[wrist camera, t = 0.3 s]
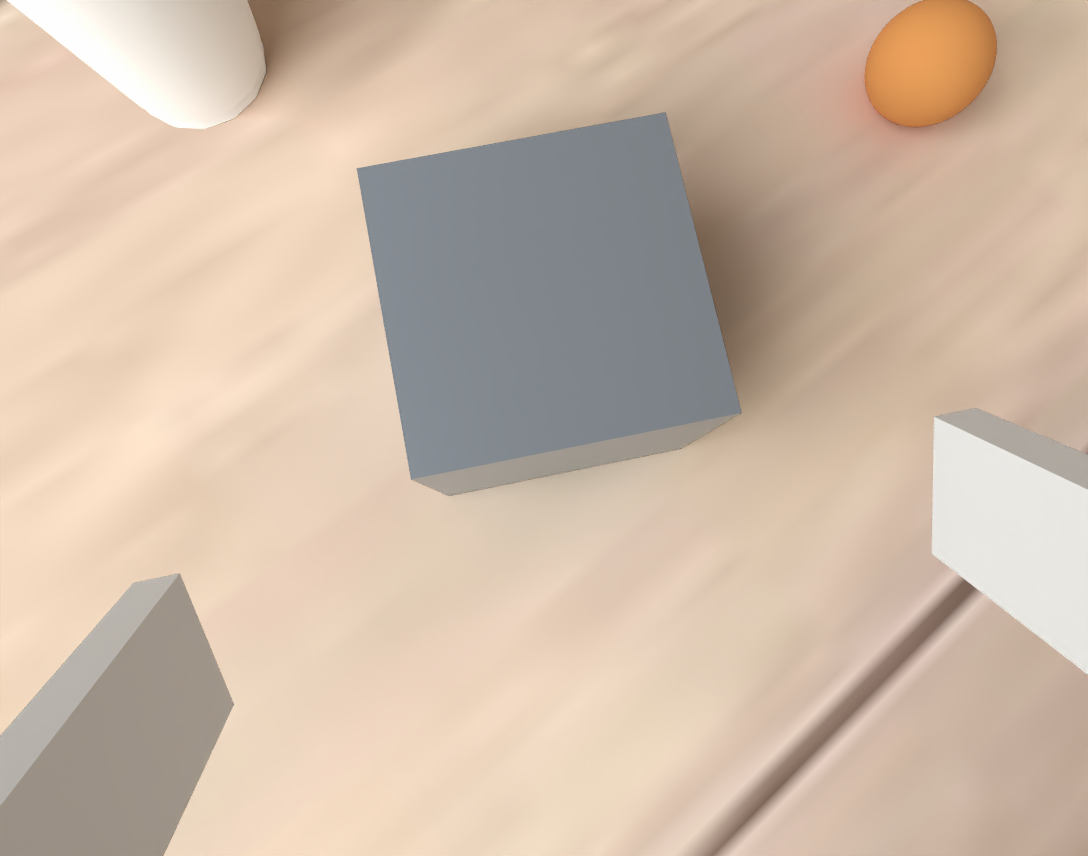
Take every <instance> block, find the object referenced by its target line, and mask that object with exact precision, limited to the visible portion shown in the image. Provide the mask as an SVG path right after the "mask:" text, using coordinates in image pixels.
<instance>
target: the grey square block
mask: <svg viewBox="0 0 1088 856" xmlns="http://www.w3.org/2000/svg"><path fill="white" fill-rule="evenodd" d="M357 172H358V178H359V183H360V189H361V195H362V201H363V206H364V212H365V218H366V223H367V229H368V235H369V241H370V246H371V252H372V258H373V264H374V269H375V275H376V281H377V286H378V292H379V298H380V304H381V309H382V315H383V321H384V327H385V332H386V338H387V344H388V349H389V355H390V361H391V367H392V372H393V378H394V384H395V390H396V395H397V401H398V407H399V412H400V418H401V424H402V430H403V435H404V441H405V447H406V453H407V458H408V464H409V470H410V476H411V480H413V481H416V482H418V483H420V484H422V485H425V486H427V487H429V488H432V489H434V490H436V491H438V492H441V493H443V494H445V495H447V496H451V495H456V494H461V493H466V492H471V491H476V490H481V489H486V488H490V487H495V486H500V485H505V484H510V483H515V482H520V481H525V480H530V479H535V478H540V477H545V476H550V475H554V474H559V473H564V472H569V471H574V470H579V469H584V468H589V467H594V466H599V465H604V464H609V463H614V462H618V461H623V460H628V459H633V458H638V457H643V456H648V455H653V454H658V453H663V452H668V451H673V450H678V449H681V448H683V447H685V446H686V445H688V444H690V443H692V442H693V441H695V440H697V439H698V438H700V437H702V436H703V435H705V434H707V433H708V432H710V431H712V430H713V429H715V428H717V427H719V426H720V425H722V424H724V423H725V422H727V421H729V420H730V419H732V418H734V417H735V416H737V415H739V414H741V409H740V405H739V401H738V397H737V393H736V389H735V385H734V382H733V378H732V374H731V370H730V366H729V362H728V358H727V354H726V350H725V346H724V342H723V338H722V334H721V330H720V326H719V322H718V318H717V314H716V310H715V306H714V302H713V298H712V294H711V290H710V286H709V282H708V278H707V274H706V270H705V267H704V263H703V259H702V255H701V251H700V247H699V243H698V239H697V235H696V231H695V227H694V223H693V219H692V215H691V211H690V207H689V203H688V199H687V195H686V191H685V187H684V183H683V179H682V175H681V171H680V167H679V163H678V159H677V156H676V152H675V148H674V144H673V140H672V136H671V132H670V128H669V124H668V120H667V116H666V112H665V113H660V114H654V115H649V116H643V117H637V118H632V119H626V120H621V121H615V122H610V123H604V124H599V125H593V126H588V127H582V128H577V129H571V130H566V131H560V132H555V133H549V134H544V135H538V136H533V137H527V138H522V139H516V140H511V141H505V142H500V143H494V144H489V145H483V146H478V147H472V148H467V149H461V150H456V151H450V152H445V153H439V154H434V155H428V156H423V157H417V158H412V159H406V160H401V161H395V162H390V163H384V164H379V165H373V166H368V167H362V168H357Z"/></svg>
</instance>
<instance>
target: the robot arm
mask: <svg viewBox="0 0 1088 856" xmlns="http://www.w3.org/2000/svg"><path fill="white" fill-rule="evenodd" d="M932 554H933V555H934V556H935V557H937V558H938V559H939V560H940V561H942V562H943V563H944V564H946V565H947V566H948V567H949V568H951V569H952V570H953V571H955V572H956V573H957V574H959V575H960V576H961V577H962V578H964V579H965V580H966V581H968V582H969V583H970V584H971V585H973V586H974V587H975V588H977V589H978V590H979V591H980V592H982V593H983V594H984V595H986V596H987V597H988V598H990V599H991V600H992V601H993V602H995V603H996V604H997V605H999V606H1000V607H1001V608H1002V609H1004V610H1005V611H1006V612H1008V613H1009V614H1010V615H1011V616H1013V617H1014V618H1015V619H1017V620H1018V621H1019V622H1021V623H1022V624H1023V625H1024V626H1026V627H1027V628H1028V629H1030V630H1031V631H1032V632H1033V633H1035V634H1036V635H1037V636H1039V637H1040V638H1041V639H1042V640H1044V641H1045V642H1046V643H1048V644H1049V645H1050V646H1052V647H1053V648H1054V649H1055V650H1057V651H1058V652H1059V653H1061V654H1062V655H1063V656H1064V657H1066V658H1067V659H1068V660H1070V661H1071V662H1072V663H1073V664H1075V665H1076V666H1077V667H1079V668H1080V669H1081V670H1083V671H1084V672H1085V673H1086V674H1088V455H1087V454H1085V453H1083V452H1080V451H1078V450H1075V449H1073V448H1071V447H1068V446H1066V445H1063V444H1061V443H1059V442H1056V441H1054V440H1051V439H1049V438H1047V437H1044V436H1042V435H1039V434H1037V433H1035V432H1032V431H1030V430H1028V429H1025V428H1023V427H1020V426H1018V425H1016V424H1013V423H1011V422H1008V421H1006V420H1004V419H1001V418H999V417H996V416H994V415H992V414H989V413H987V412H984V411H982V410H980V409H977V408H974V409H969V410H964V411H959V412H955V413H950V414H945V415H940V416H935V417H934V453H933V512H932ZM233 705H234V703H233V701H232V698H231V696H230V693H229V691H228V689H227V686H226V684H225V681H224V679H223V677H222V674H221V672H220V669H219V667H218V665H217V662H216V660H215V657H214V655H213V652H212V650H211V648H210V645H209V643H208V640H207V638H206V636H205V633H204V631H203V628H202V626H201V623H200V621H199V619H198V616H197V614H196V611H195V609H194V607H193V604H192V602H191V599H190V597H189V595H188V592H187V590H186V587H185V585H184V582H183V580H182V578H181V575H180V573H179V574H174V575H169V576H164V577H160V578H155V579H150V580H145V581H140V582H135V583H133V584H132V585H131V586H130V588H129V589H128V590H127V591H126V592H125V593H124V595H123V596H122V597H121V598H120V599H119V600H118V601H117V603H116V604H115V605H114V606H113V607H112V608H111V609H110V611H109V612H108V613H107V614H106V615H105V616H104V617H103V619H102V620H101V621H100V622H99V623H98V624H97V625H96V627H95V628H94V629H93V630H92V631H91V632H90V634H89V635H88V636H87V637H86V638H85V639H84V640H83V642H82V643H81V644H80V645H79V646H78V647H77V648H76V650H75V651H74V652H73V653H72V654H71V655H70V656H69V658H68V659H67V660H66V661H65V662H64V663H63V665H62V666H61V667H60V668H59V669H58V670H57V671H56V673H55V674H54V675H53V676H52V677H51V678H50V679H49V681H48V682H47V683H46V684H45V685H44V686H43V687H42V689H41V690H40V691H39V692H38V693H37V694H36V695H35V697H34V698H33V699H32V700H31V701H30V702H29V704H28V705H27V706H26V707H25V708H24V709H23V710H22V712H21V713H20V714H19V715H18V716H17V717H16V718H15V720H14V721H13V722H12V723H11V724H10V725H9V726H8V728H7V729H6V730H5V731H4V732H3V733H2V735H1V736H0V856H163V855H164V853H165V851H166V849H167V847H168V845H169V843H170V840H171V838H172V836H173V834H174V832H175V830H176V828H177V825H178V823H179V821H180V819H181V817H182V815H183V813H184V810H185V808H186V806H187V804H188V802H189V800H190V797H191V795H192V793H193V791H194V789H195V787H196V785H197V782H198V780H199V778H200V776H201V774H202V772H203V770H204V767H205V765H206V763H207V761H208V759H209V757H210V755H211V752H212V750H213V748H214V746H215V744H216V742H217V740H218V737H219V735H220V733H221V731H222V729H223V727H224V724H225V722H226V720H227V718H228V716H229V714H230V712H231V709H232V707H233Z"/></svg>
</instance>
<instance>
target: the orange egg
mask: <svg viewBox="0 0 1088 856" xmlns="http://www.w3.org/2000/svg"><path fill="white" fill-rule="evenodd" d="M996 54H997V40H996V34H995V31H994V27H993V25H992V23H991V21H990V19H989V17H988V16H987V15H986V14H985V12H984V11H983V10H982V9H980V8H979V7H978V6H977V5H975V4H973V3H972V2H970V1H968V0H923V1H920V2H918V3H916V4H913V5H912V6H910V7H908V8H906V9H905V10H903V11H902V12H900V13H899V14H898V15H896V16H895V17H894V18H893V19H892V20H891V21H890V22H889V23H888V24H887V25H886V26H885V27H884V28H883V30H882V31H881V32H880V34H879V35H878V37H877V38H876V40H875V42H874V44H873V45H872V47H871V50H870V53H869V55H868V58H867V63H866V68H865V86H866V91H867V94H868V97H869V99H870V101H871V103H872V105H873V106H874V108H875V109H876V110H877V111H878V112H879V113H880V114H881V115H882V116H883V117H885V118H886V119H888V120H889V121H891V122H893V123H896V124H899V125H903V126H909V127H922V126H928V125H933V124H937V123H939V122H942V121H944V120H947V119H949V118H951V117H952V116H954V115H956V114H957V113H959V112H960V111H962V110H963V109H964V108H966V107H967V106H968V105H969V104H970V103H971V102H972V101H973V100H974V99H975V98H976V97H977V96H978V95H979V93H980V92H981V91H982V89H983V88H984V86H985V85H986V83H987V81H988V79H989V77H990V75H991V73H992V70H993V67H994V64H995V59H996Z"/></svg>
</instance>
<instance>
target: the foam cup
mask: <svg viewBox="0 0 1088 856" xmlns="http://www.w3.org/2000/svg"><path fill="white" fill-rule="evenodd" d="M7 1H8V2H10V3H11V4H12V5H13V6H15V7H16V8H17V9H18V10H20V11H21V12H22V13H23V14H25V15H26V16H27V17H28V18H30V19H31V20H32V21H33V22H35V23H36V24H37V25H38V26H40V27H41V28H42V29H43V30H45V31H46V32H47V33H48V34H50V35H51V36H52V37H53V38H55V39H56V40H57V41H58V42H60V43H61V44H62V45H63V46H65V47H66V48H67V49H68V50H70V51H71V52H72V53H73V54H75V55H76V56H77V57H79V58H80V59H81V60H82V61H84V62H85V63H86V64H87V65H89V66H90V67H91V68H92V69H94V70H95V71H96V72H97V73H99V74H100V75H101V76H102V77H104V78H105V79H106V80H107V81H109V82H110V83H111V84H112V85H114V86H115V87H116V88H117V89H119V90H120V91H121V92H122V93H124V94H125V95H126V96H127V97H129V98H130V99H131V100H132V101H134V102H135V103H136V104H137V105H139V106H140V107H142V108H144V109H146V111H147V112H148V113H149V114H151V115H153V116H155V117H157V118H158V119H160V120H162V121H164V122H166V123H168V124H170V125H172V126H173V127H179V128H196V129H207V128H210V127H212V126H215V125H218V124H221V123H223V122H226V121H229V120H232V119H234V118H235V117H237V116H238V115H239V114H240V113H241V112H242V111H243V110H244V109H245V108H246V107H247V106H248V105H249V104H250V103H251V102H252V101H253V100H255V99H256V97H257V95H258V92H259V89H260V87H261V84H262V82H263V79H264V77H265V74H266V64H265V56H264V47H263V44H262V42H261V40H260V34H259V31H258V28H257V26H256V23H255V20H254V17H253V14H252V12H251V9H250V6H249V3H248V1H247V0H7Z"/></svg>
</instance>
